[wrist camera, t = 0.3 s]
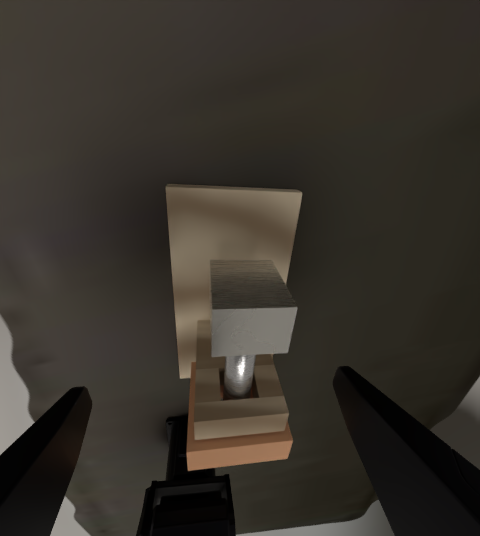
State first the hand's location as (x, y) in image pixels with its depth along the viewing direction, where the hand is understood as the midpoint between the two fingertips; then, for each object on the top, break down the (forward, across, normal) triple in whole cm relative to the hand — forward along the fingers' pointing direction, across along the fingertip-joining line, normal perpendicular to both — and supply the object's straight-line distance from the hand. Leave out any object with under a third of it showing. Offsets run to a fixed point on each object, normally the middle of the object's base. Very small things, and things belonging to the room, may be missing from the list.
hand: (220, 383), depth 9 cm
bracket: (+14, -2, +5) cm, 15 cm away
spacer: (+10, -2, +11) cm, 15 cm away
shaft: (+8, -2, +6) cm, 10 cm away
